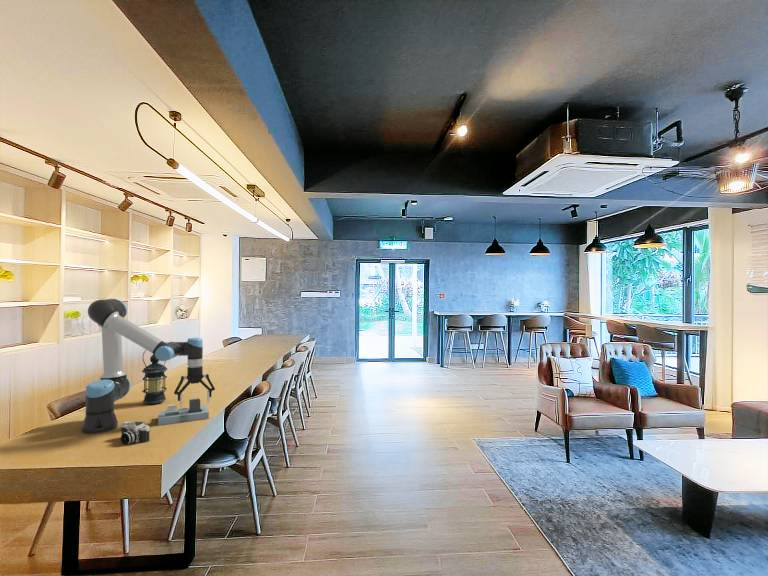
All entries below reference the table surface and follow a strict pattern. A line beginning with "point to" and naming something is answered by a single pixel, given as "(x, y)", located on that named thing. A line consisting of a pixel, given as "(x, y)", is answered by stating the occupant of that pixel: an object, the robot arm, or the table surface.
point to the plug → (194, 405)
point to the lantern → (154, 381)
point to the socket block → (181, 415)
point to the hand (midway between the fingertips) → (194, 405)
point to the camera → (134, 432)
